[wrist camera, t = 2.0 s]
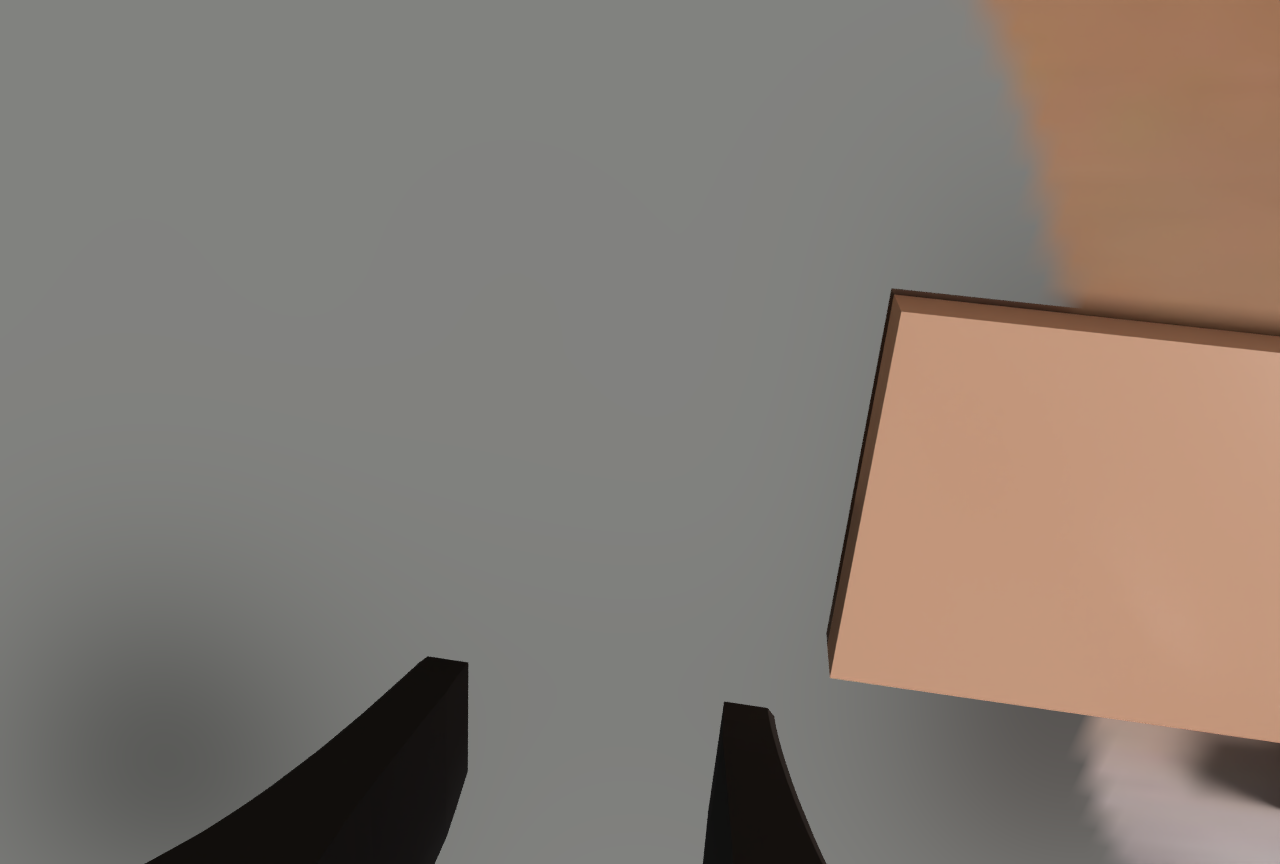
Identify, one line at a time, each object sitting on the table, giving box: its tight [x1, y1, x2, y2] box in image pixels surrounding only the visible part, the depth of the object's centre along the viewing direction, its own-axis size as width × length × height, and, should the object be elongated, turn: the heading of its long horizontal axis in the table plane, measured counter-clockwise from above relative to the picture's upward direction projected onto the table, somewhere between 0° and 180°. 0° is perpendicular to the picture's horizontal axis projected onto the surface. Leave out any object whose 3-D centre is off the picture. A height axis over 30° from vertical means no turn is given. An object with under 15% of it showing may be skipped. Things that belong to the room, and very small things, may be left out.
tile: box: [826, 288, 1280, 743], centre depth 21 cm, size 9×12×2 cm
